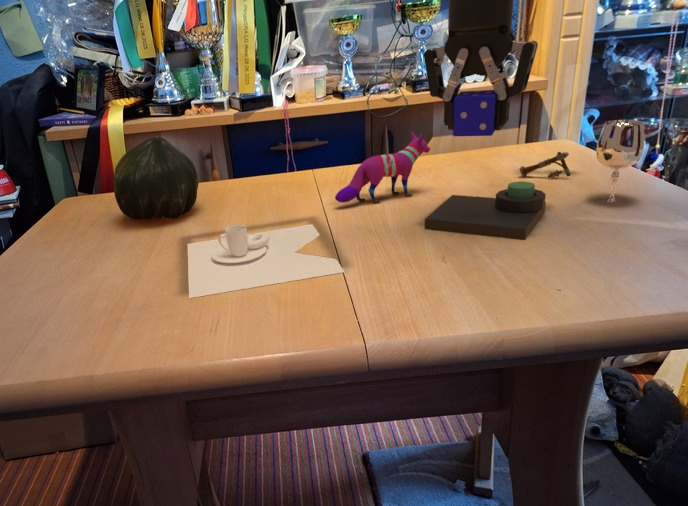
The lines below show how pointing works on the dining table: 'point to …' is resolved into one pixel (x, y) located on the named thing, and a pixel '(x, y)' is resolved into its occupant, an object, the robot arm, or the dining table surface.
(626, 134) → the wineglass
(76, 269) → the dining table surface
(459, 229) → the scale
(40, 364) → the dining table surface
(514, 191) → the tare button
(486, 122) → the die
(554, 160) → the wooden post with brackets
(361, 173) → the striped fox figurine
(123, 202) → the squash
